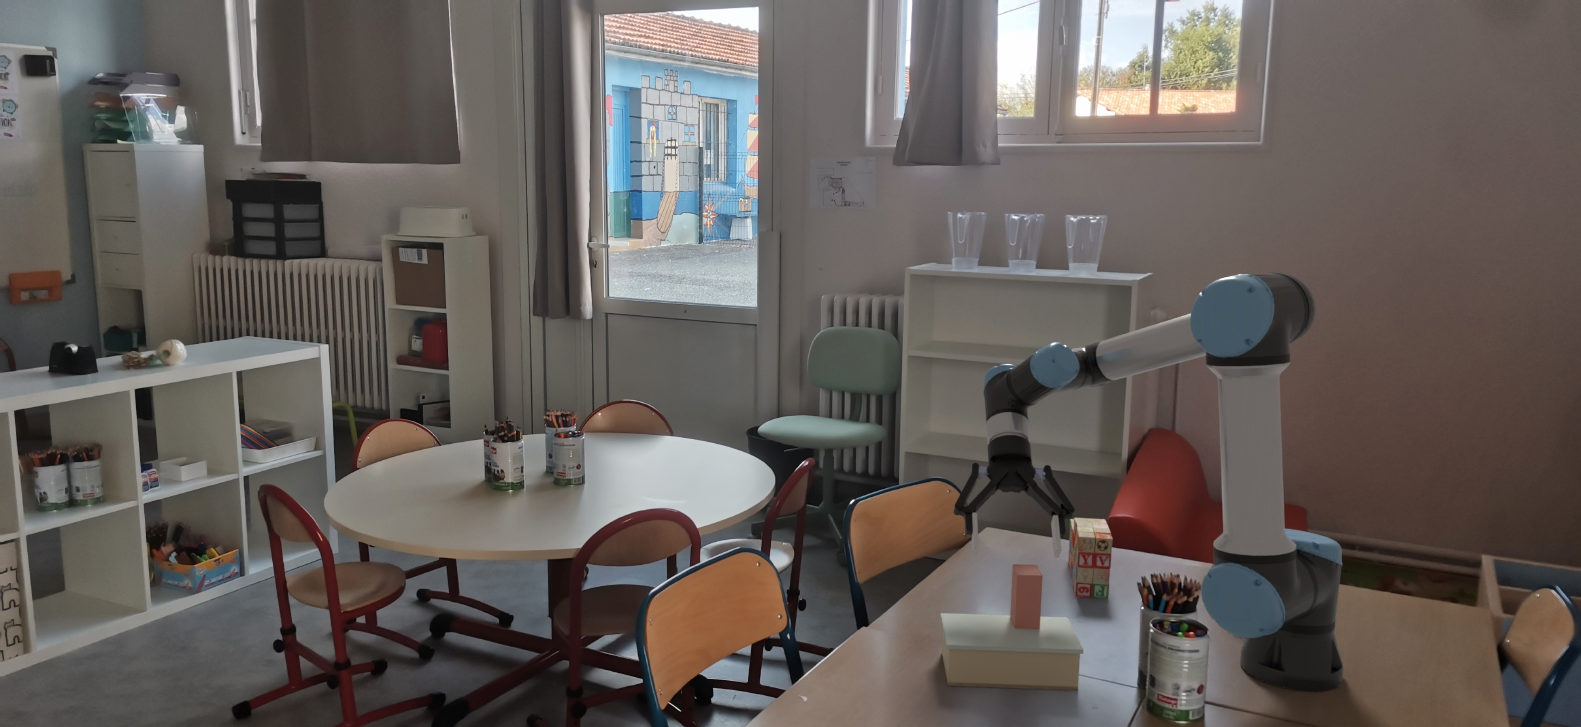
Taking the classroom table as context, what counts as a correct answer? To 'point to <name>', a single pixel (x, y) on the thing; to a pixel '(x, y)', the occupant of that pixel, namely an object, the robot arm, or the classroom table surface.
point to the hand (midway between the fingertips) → (1016, 552)
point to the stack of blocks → (1090, 557)
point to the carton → (1011, 669)
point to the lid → (1013, 623)
